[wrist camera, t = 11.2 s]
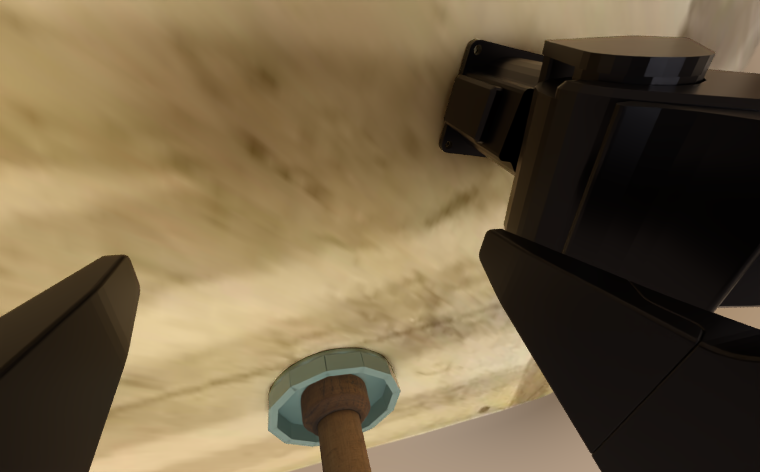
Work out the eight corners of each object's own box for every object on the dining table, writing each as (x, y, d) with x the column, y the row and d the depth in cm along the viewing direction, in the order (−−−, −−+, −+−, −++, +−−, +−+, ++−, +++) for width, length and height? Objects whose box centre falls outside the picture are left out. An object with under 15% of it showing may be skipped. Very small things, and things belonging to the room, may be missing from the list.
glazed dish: (404, 342, 33) (411, 361, 31) (379, 414, 39) (384, 433, 38) (270, 354, 29) (270, 377, 27) (267, 432, 35) (266, 455, 33)
